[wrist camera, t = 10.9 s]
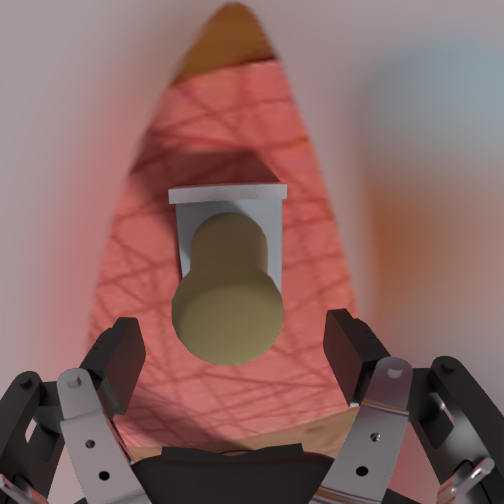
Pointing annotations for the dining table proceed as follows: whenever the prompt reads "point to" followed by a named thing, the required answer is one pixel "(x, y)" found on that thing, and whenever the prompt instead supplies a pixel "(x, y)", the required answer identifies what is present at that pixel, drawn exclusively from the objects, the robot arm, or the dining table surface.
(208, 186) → the rail
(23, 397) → the robot arm
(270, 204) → the slate shelf board
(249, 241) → the cork
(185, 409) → the dining table surface
